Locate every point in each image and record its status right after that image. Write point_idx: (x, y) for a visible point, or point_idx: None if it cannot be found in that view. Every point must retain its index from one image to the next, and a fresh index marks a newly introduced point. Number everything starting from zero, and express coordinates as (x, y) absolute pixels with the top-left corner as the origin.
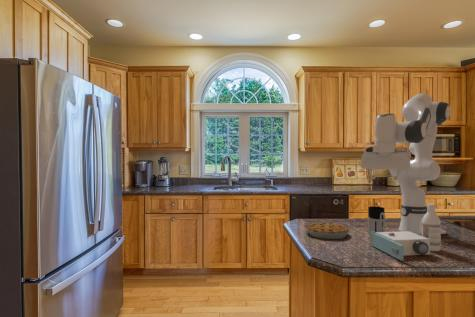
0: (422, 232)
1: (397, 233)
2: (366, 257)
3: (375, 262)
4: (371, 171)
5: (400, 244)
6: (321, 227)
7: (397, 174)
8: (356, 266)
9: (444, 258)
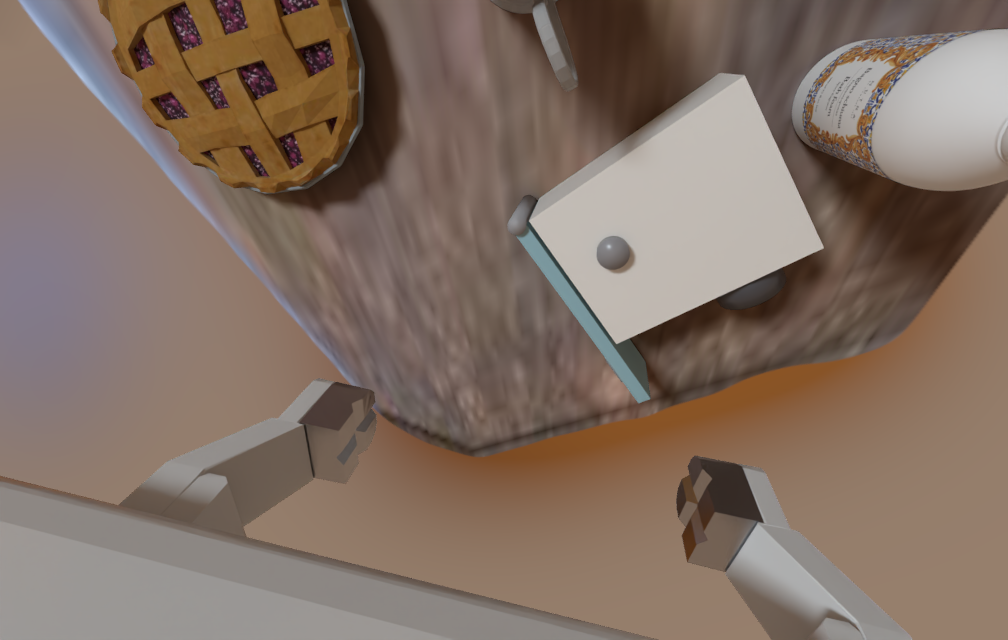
0: (832, 128)
1: (652, 191)
2: (519, 358)
3: (551, 393)
4: (212, 475)
5: (639, 388)
6: (226, 131)
7: (765, 619)
8: (504, 437)
9: (843, 252)
